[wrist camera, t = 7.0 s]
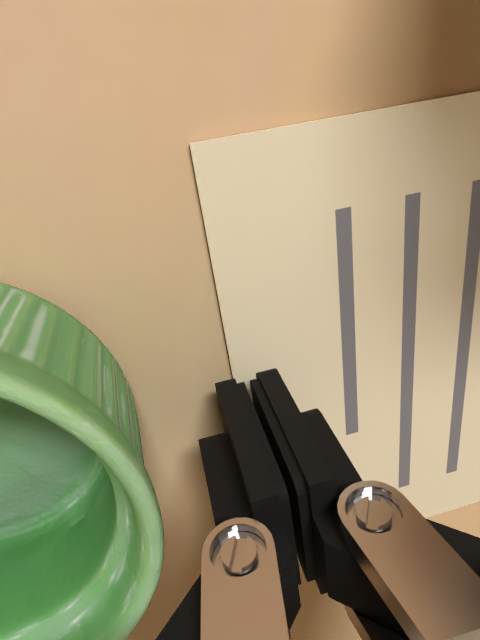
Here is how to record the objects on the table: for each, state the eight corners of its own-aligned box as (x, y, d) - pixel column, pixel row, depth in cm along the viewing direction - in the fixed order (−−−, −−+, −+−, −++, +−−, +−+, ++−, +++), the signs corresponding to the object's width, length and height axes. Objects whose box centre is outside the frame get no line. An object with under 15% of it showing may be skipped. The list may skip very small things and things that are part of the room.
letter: (639, 61, 11) (643, 61, 11) (543, 479, 17) (545, 480, 17) (189, 143, 9) (189, 143, 9) (267, 564, 16) (268, 566, 16)
